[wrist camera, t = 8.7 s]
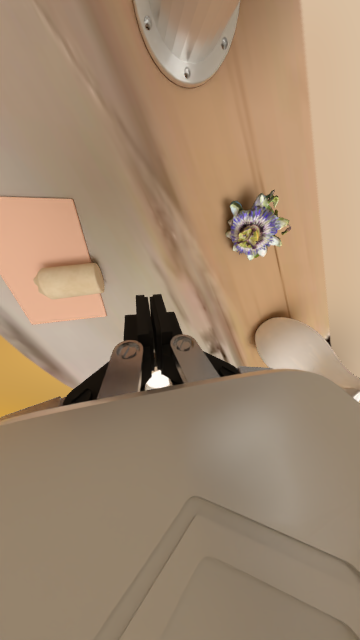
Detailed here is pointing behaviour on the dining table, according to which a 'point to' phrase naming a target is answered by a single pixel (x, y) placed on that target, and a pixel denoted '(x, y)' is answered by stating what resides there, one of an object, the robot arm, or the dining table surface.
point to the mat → (43, 255)
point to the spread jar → (157, 378)
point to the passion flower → (256, 226)
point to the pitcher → (302, 352)
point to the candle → (70, 281)
